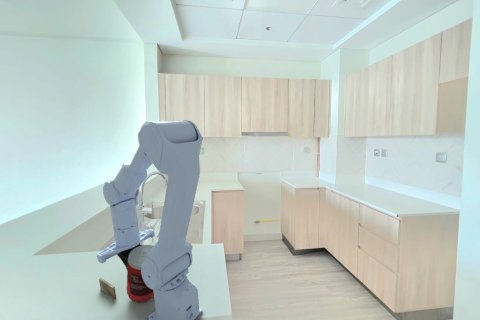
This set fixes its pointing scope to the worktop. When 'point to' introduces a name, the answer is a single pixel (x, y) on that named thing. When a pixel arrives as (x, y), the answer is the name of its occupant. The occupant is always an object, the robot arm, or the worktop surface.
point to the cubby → (107, 287)
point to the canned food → (138, 275)
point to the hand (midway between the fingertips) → (132, 272)
